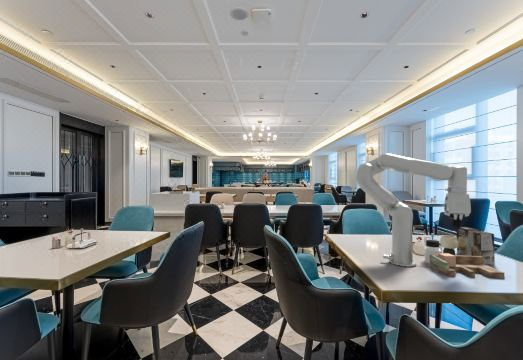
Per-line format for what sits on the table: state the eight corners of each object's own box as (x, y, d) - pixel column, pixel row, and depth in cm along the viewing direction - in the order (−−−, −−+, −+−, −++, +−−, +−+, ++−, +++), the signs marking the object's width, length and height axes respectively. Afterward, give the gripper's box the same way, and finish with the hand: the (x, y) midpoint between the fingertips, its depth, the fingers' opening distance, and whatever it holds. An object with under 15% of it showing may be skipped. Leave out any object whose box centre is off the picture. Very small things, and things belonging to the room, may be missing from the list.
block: (444, 266, 123) (444, 255, 123) (438, 263, 128) (438, 253, 128) (455, 266, 122) (455, 256, 123) (448, 263, 127) (448, 253, 128)
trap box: (446, 275, 117) (445, 262, 117) (430, 266, 131) (429, 254, 131) (504, 278, 114) (504, 264, 114) (481, 268, 128) (481, 256, 128)
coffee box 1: (456, 253, 156) (455, 226, 157) (466, 253, 156) (466, 226, 157) (468, 257, 147) (467, 229, 147) (479, 257, 147) (478, 229, 147)
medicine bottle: (441, 265, 133) (441, 242, 133) (425, 263, 136) (424, 240, 137) (440, 261, 139) (440, 239, 139) (424, 259, 142) (424, 238, 143)
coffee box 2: (495, 265, 133) (494, 233, 133) (481, 264, 134) (480, 233, 134) (484, 259, 142) (483, 230, 142) (470, 259, 143) (470, 230, 143)
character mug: (463, 261, 138) (463, 237, 138) (452, 262, 137) (452, 238, 137) (446, 256, 149) (445, 234, 149) (435, 257, 148) (435, 234, 148)
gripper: (444, 190, 126) (444, 227, 125) (478, 191, 123) (478, 229, 123) (436, 190, 133) (436, 225, 133) (469, 191, 130) (468, 227, 130)
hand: (456, 227), depth 128 cm, fingers closed
